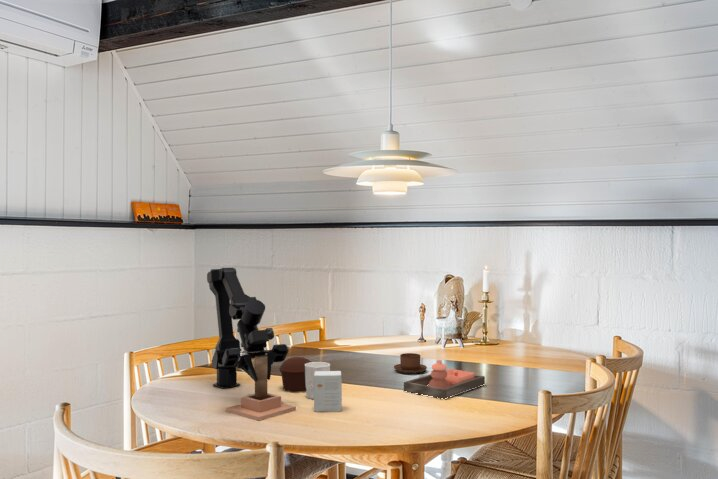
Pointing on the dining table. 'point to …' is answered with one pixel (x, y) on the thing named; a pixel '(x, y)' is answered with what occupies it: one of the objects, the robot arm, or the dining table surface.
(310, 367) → the white cup
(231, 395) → the dining table surface
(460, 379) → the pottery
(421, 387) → the dark grey tray
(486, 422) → the dining table surface
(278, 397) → the pink square stand base
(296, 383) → the muffin
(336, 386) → the small box
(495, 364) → the dining table surface
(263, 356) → the thick brown pillar
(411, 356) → the cup and saucer
